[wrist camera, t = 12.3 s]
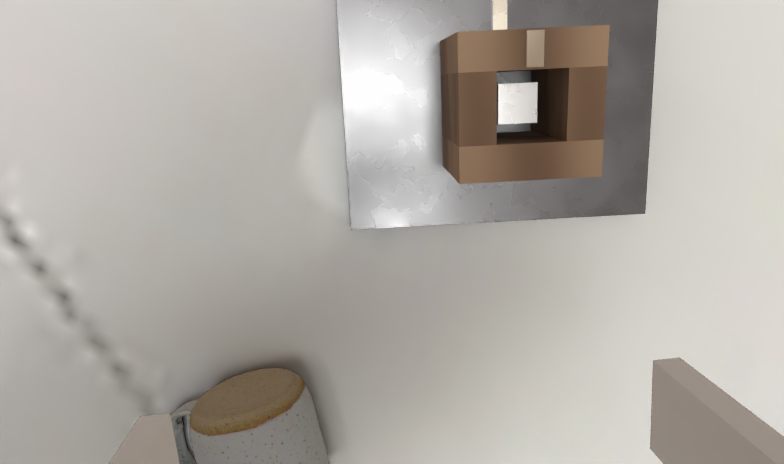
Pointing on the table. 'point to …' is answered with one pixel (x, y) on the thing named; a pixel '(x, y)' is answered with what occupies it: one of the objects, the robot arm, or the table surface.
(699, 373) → the robot arm
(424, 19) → the metal panel
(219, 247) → the table surface
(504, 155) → the brown cardboard box
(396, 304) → the table surface
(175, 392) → the table surface
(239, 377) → the ceramic mug
